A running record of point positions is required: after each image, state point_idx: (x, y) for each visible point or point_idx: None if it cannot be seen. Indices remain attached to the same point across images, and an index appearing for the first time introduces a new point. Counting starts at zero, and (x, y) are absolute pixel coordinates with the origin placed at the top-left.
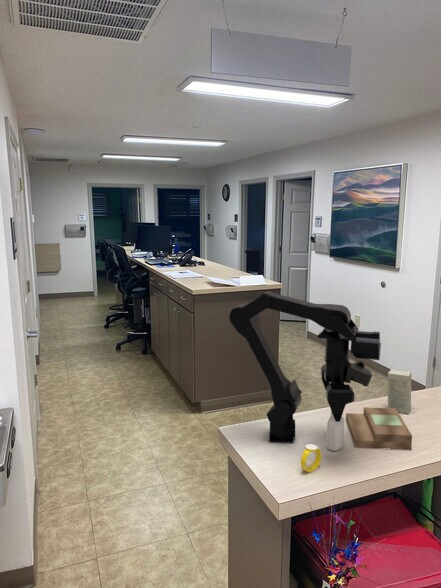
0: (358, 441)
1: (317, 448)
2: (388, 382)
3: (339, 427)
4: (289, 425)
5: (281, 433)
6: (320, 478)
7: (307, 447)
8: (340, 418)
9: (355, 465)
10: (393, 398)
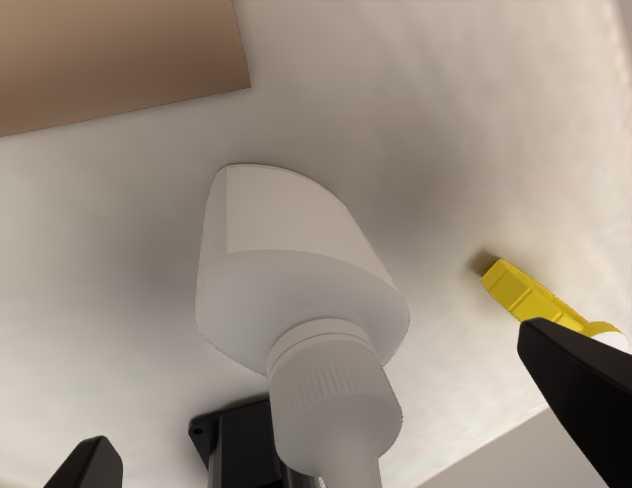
0: (243, 56)
1: (578, 323)
2: None
3: (364, 262)
4: (296, 484)
5: None
6: (577, 232)
7: None
8: (588, 340)
9: (472, 70)
10: None
